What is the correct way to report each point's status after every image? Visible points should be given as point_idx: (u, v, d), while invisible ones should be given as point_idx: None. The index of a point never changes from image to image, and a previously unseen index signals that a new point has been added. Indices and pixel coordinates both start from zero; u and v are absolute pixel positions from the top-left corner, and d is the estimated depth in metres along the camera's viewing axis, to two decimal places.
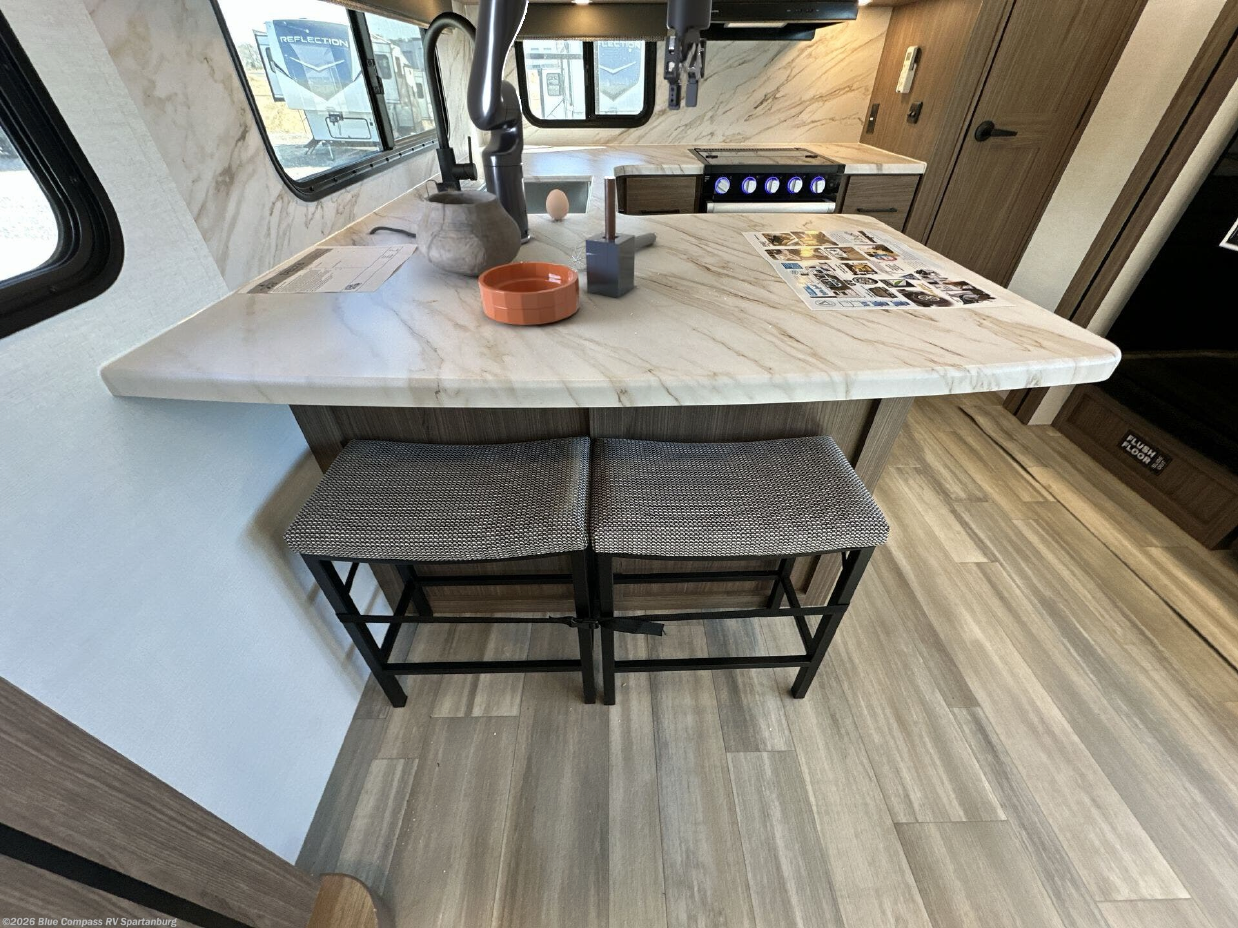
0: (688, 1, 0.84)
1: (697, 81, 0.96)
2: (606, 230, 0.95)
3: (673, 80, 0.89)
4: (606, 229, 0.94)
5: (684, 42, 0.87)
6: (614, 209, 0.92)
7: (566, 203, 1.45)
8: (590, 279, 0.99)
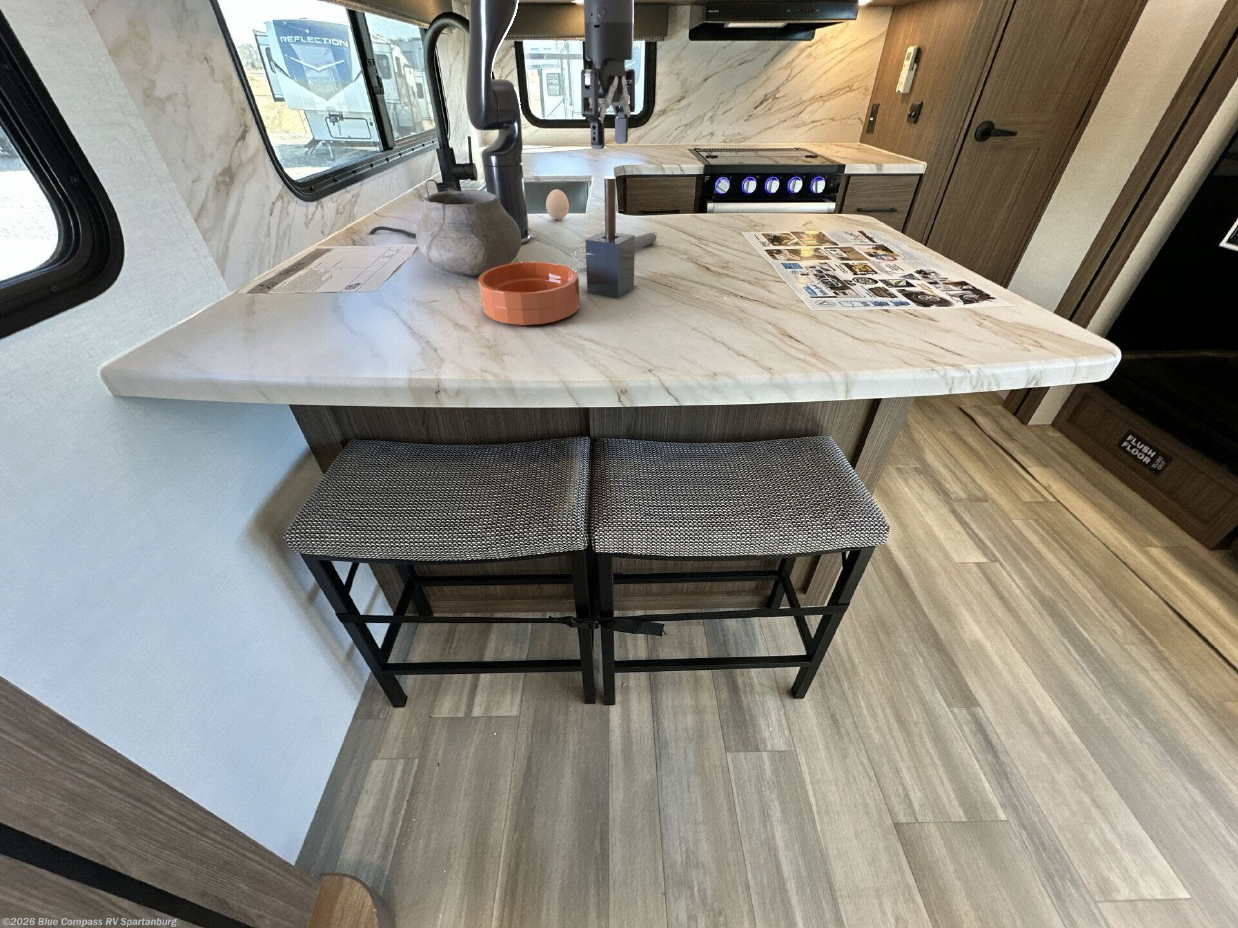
0: (604, 31, 0.75)
1: (626, 115, 0.87)
2: (606, 230, 0.95)
3: (593, 117, 0.80)
4: (606, 229, 0.94)
5: (603, 76, 0.78)
6: (614, 209, 0.92)
7: (566, 203, 1.45)
8: (590, 279, 0.99)
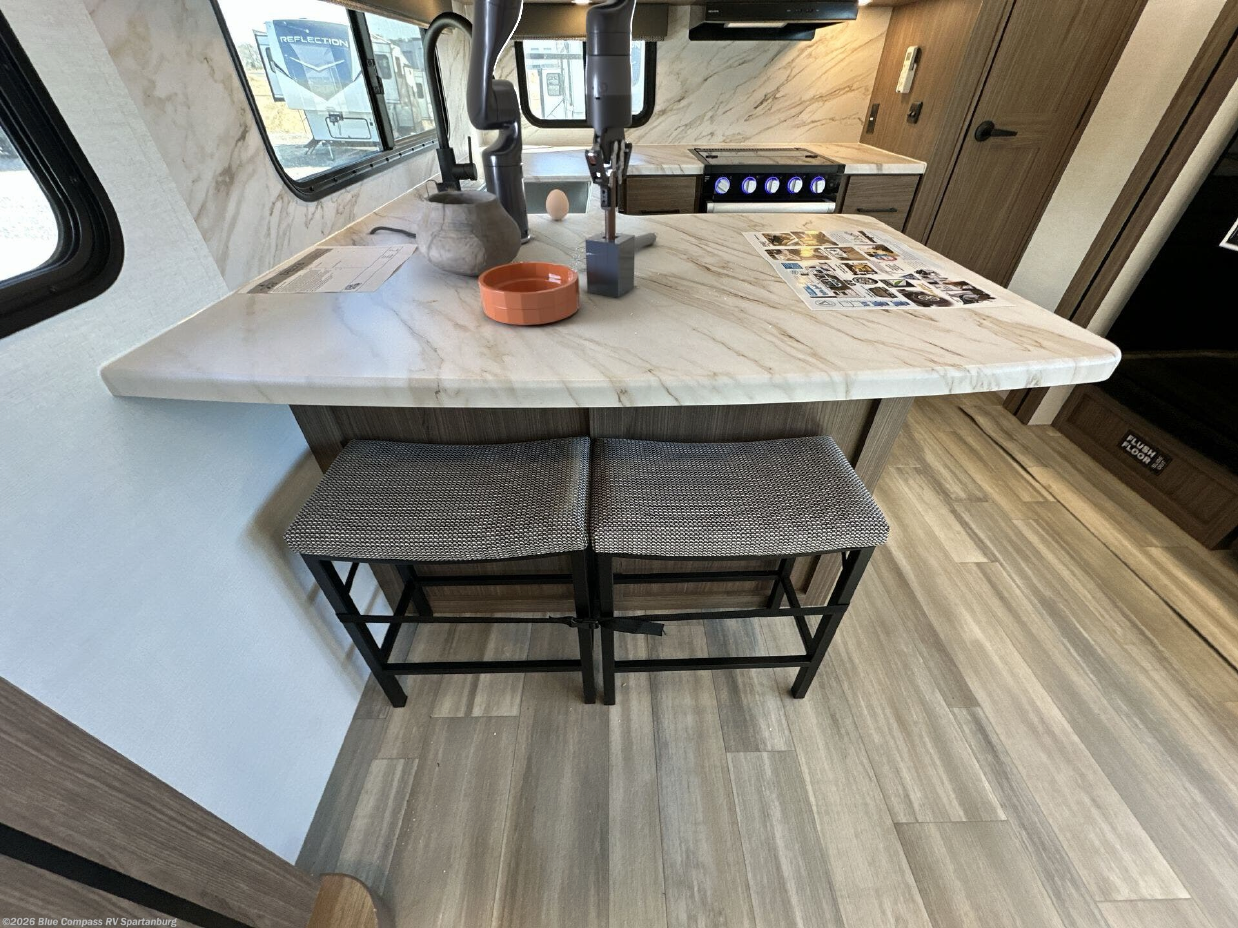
0: (604, 103, 0.80)
1: (618, 182, 0.91)
2: (606, 230, 0.95)
3: (602, 184, 0.88)
4: (606, 229, 0.94)
5: (604, 142, 0.83)
6: (614, 209, 0.92)
7: (566, 203, 1.45)
8: (590, 279, 0.99)
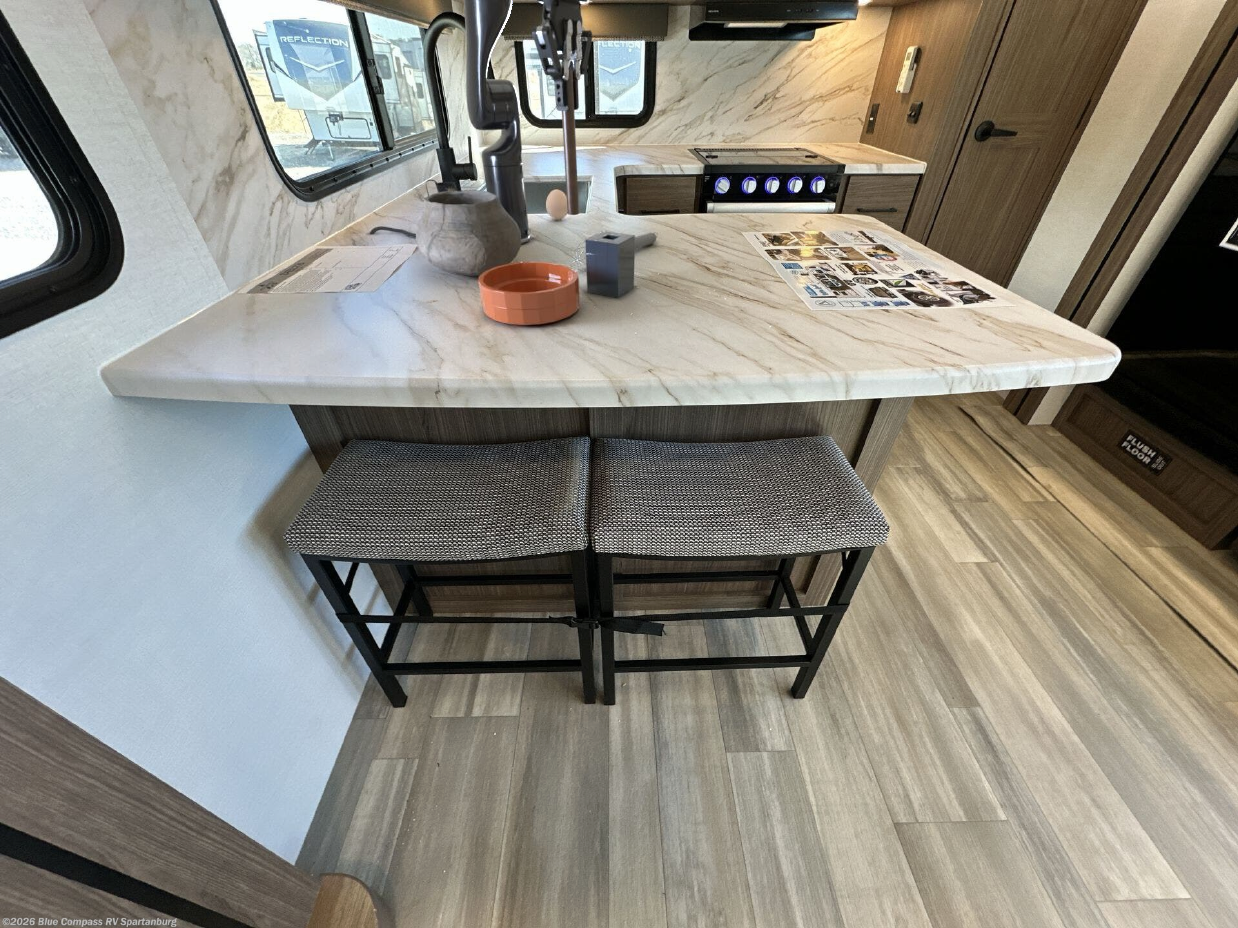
0: None
1: (575, 78, 0.78)
2: (564, 138, 0.81)
3: (556, 75, 0.74)
4: (564, 136, 0.81)
5: (555, 18, 0.70)
6: (572, 111, 0.79)
7: (566, 203, 1.45)
8: (590, 279, 0.99)
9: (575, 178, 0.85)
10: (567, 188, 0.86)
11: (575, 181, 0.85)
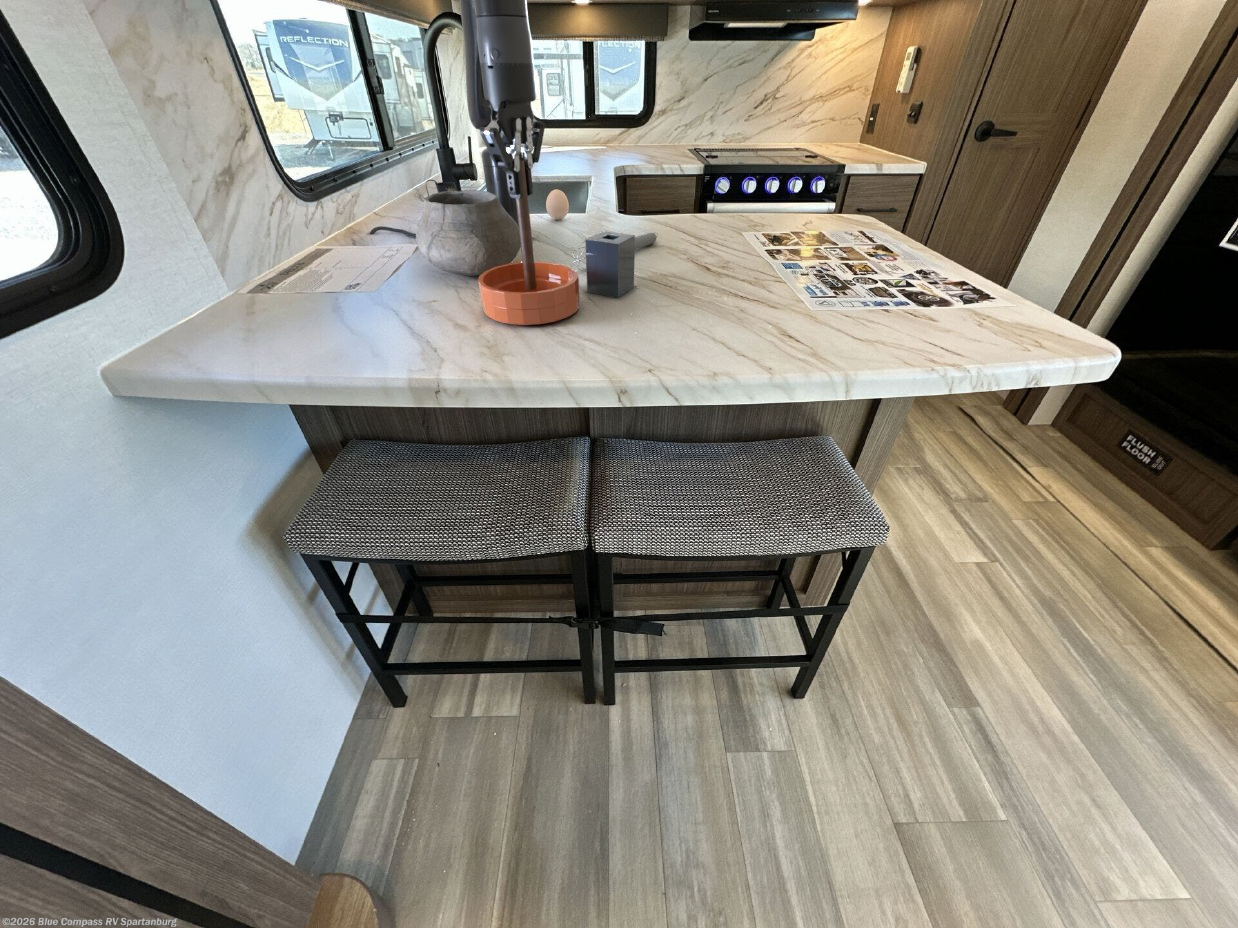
0: (498, 73, 0.69)
1: (528, 167, 0.80)
2: (519, 221, 0.84)
3: (507, 168, 0.77)
4: (519, 220, 0.84)
5: (502, 118, 0.73)
6: (526, 197, 0.82)
7: (566, 203, 1.45)
8: (590, 279, 0.99)
9: (531, 257, 0.87)
10: (524, 266, 0.88)
11: (531, 260, 0.88)
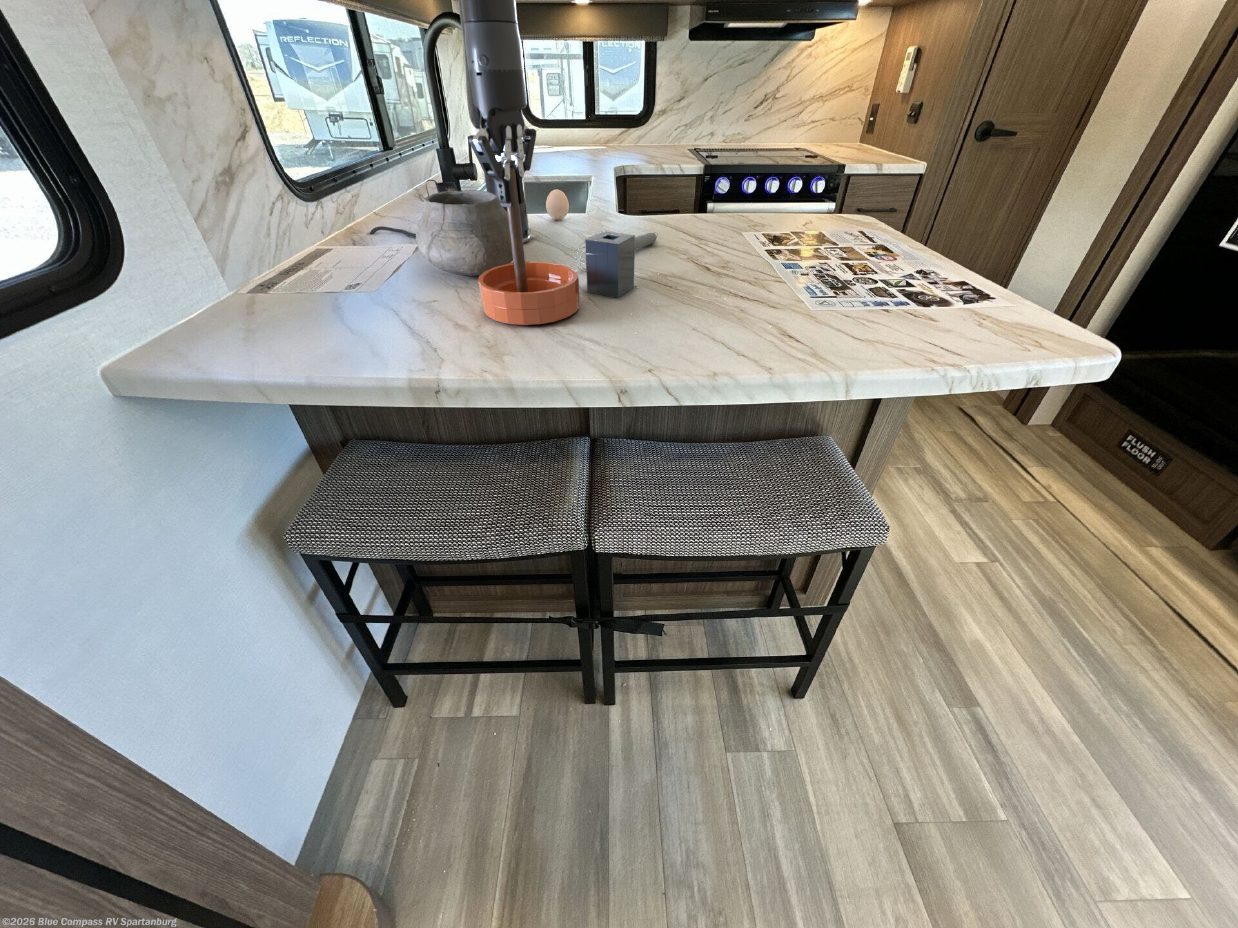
0: (487, 80, 0.68)
1: (519, 175, 0.78)
2: (510, 230, 0.82)
3: (497, 177, 0.75)
4: (510, 229, 0.82)
5: (492, 126, 0.71)
6: (517, 206, 0.80)
7: (566, 203, 1.45)
8: (590, 279, 0.99)
9: (523, 266, 0.86)
10: (516, 275, 0.87)
11: (523, 269, 0.86)
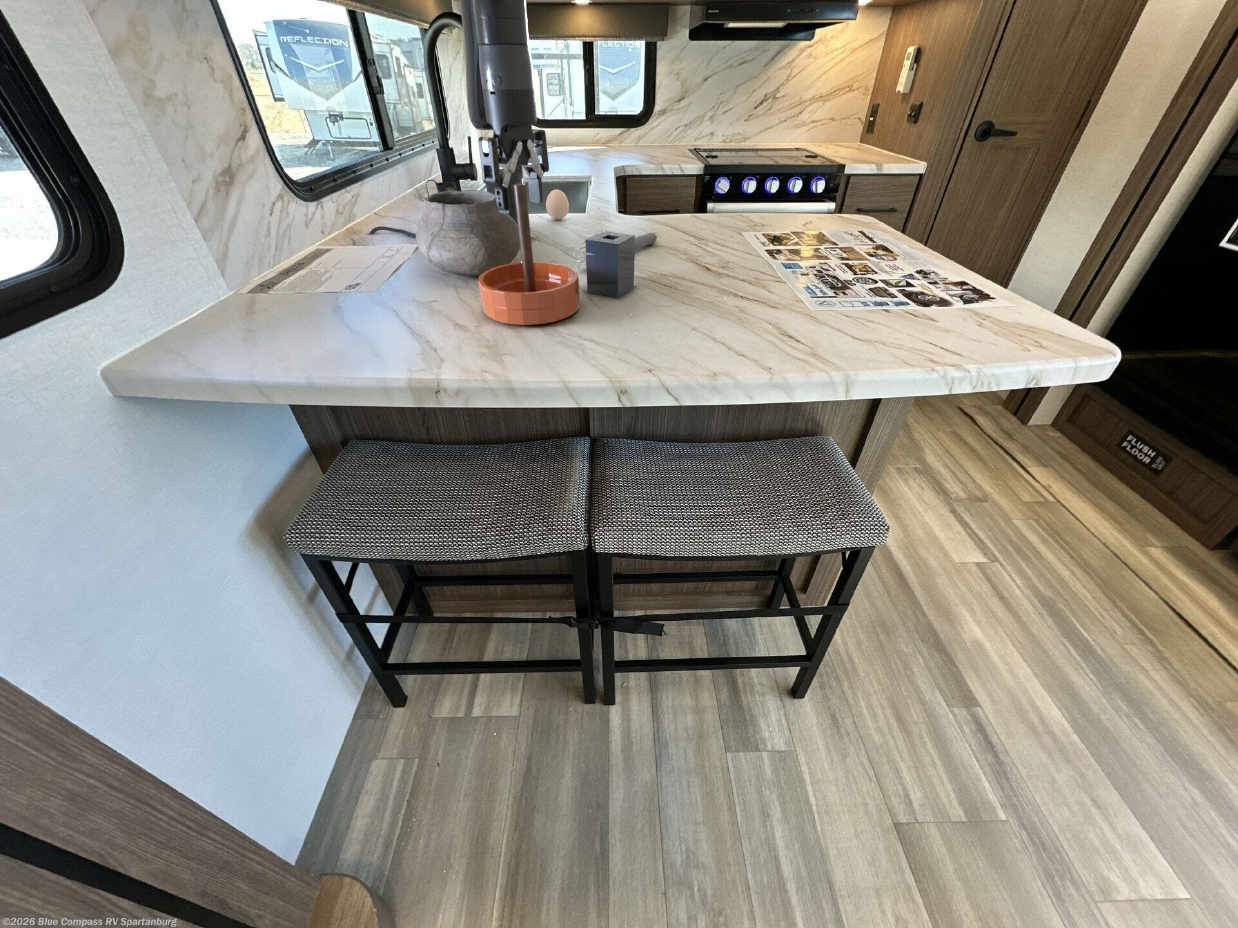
0: (500, 99, 0.71)
1: (538, 176, 0.83)
2: (520, 242, 0.86)
3: (495, 184, 0.76)
4: (520, 241, 0.86)
5: (504, 142, 0.74)
6: (527, 219, 0.84)
7: (566, 203, 1.45)
8: (590, 279, 0.99)
9: (532, 276, 0.90)
10: (525, 284, 0.91)
11: (532, 278, 0.90)
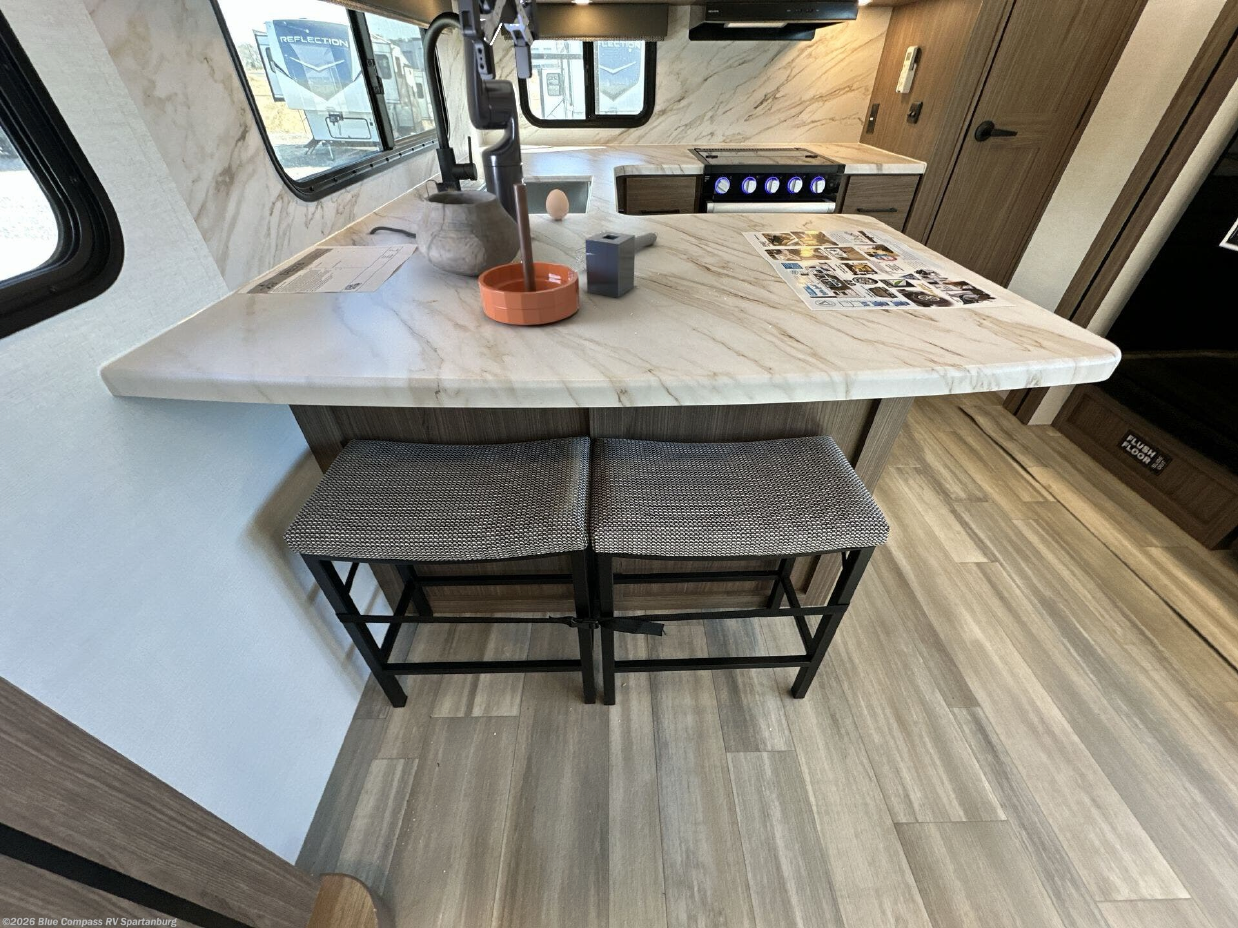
0: None
1: (527, 43, 0.73)
2: (520, 242, 0.86)
3: (475, 37, 0.66)
4: (520, 241, 0.86)
5: None
6: (527, 219, 0.84)
7: (566, 203, 1.45)
8: (590, 279, 0.99)
9: (532, 276, 0.90)
10: (525, 284, 0.91)
11: (532, 278, 0.90)
